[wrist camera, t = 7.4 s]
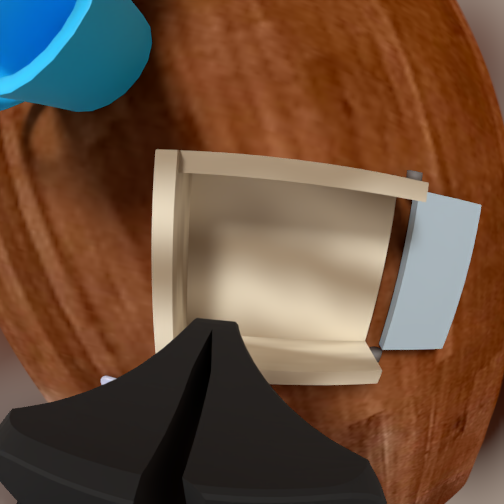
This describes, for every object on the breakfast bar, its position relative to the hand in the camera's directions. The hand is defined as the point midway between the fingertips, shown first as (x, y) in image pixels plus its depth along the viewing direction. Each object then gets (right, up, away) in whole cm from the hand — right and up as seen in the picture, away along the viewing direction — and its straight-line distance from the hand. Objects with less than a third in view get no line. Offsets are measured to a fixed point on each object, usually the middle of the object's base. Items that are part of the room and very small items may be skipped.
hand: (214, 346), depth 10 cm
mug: (-11, +15, +6) cm, 20 cm away
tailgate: (+11, +2, +9) cm, 14 cm away
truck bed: (+3, +3, +10) cm, 10 cm away
